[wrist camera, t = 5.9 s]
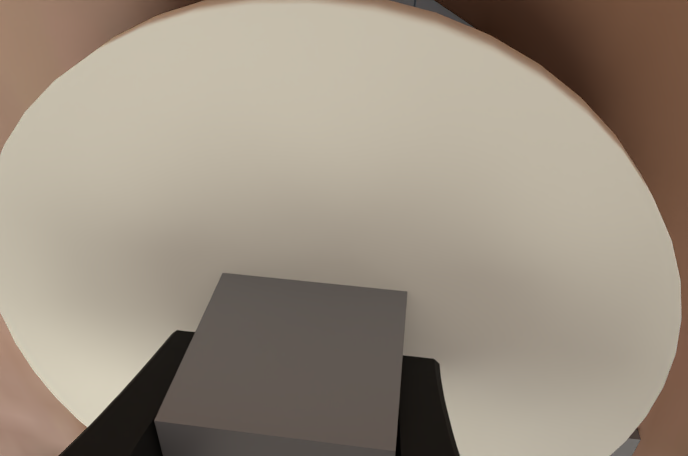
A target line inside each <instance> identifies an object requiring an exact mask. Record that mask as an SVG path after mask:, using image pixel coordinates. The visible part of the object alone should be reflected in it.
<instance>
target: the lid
mask: <svg viewBox="0 0 688 456" xmlns="http://www.w3.org/2000/svg"><path fill="white" fill-rule="evenodd" d="M0 312H1V315H2V317H3V319H4V321H5V323H6V325H7V327H8V329H9V331H10V333H11V335H12V337H13V339H14V341H15V343H16V345H17V346H18V348H19V349H20V351H21V352H22V354H23V355H24V357H25V358H26V360H27V361H28V363H29V364H30V366H31V368H32V369H33V371H34V372H35V373H36V374H37V375H38V377H39V378H40V379H41V380H42V381H43V383H44V384H45V385H46V386H47V388H48V389H49V390H50V391H51V392H52V394H53V395H54V396H55V397H56V398H57V399H58V400H59V401H60V402H61V403H62V404H63V405H64V406H65V407H66V408H67V409H68V410H69V411H70V412H71V413H72V414H73V415H74V416H75V417H76V418H77V419H78V420H79V421H80V422H82V423H83V424H84V425H85V426H86V427H88V426H89V425H90V424H91V423H92V422H93V421H94V420H95V419H96V418H97V417H98V416H99V415H100V414H101V413H102V412H103V411H104V410H105V408H106V407H107V406H108V405H109V404H110V403H111V402H112V401H113V400H114V399H115V398H116V397H117V396H118V395H119V394H120V393H121V391H122V390H123V389H124V388H125V387H126V386H127V385H128V384H129V383H130V381H131V380H132V379H133V378H134V377H135V376H136V375H137V374H138V372H139V371H140V370H141V369H142V368H143V367H144V366H145V365H146V363H147V362H148V361H149V360H150V359H151V358H152V356H153V355H154V354H155V353H156V352H157V351H158V349H159V348H160V347H161V346H162V345H163V344H164V342H165V341H166V340H167V339H168V338H169V336H170V335H171V334H172V333H173V332H175V331H176V330H181V331H190V332H195V334H194V336H193V338H192V340H191V342H190V344H189V347H188V349H187V351H186V353H185V355H184V357H183V359H182V362H181V364H180V366H179V368H178V370H177V372H176V375H175V377H174V379H173V381H172V383H171V385H170V388H169V390H168V392H167V394H166V396H165V398H164V401H163V403H162V405H161V407H160V409H159V411H158V413H157V416H156V418H155V420H154V422H155V426H156V430H157V434H158V438H159V442H160V446H161V450H162V454H163V456H395V452H396V439H397V425H398V412H399V399H400V385H401V372H402V359H403V355H405V356H414V357H423V358H432V359H435V360H436V361H437V362H438V363H439V364H440V374H441V381H442V387H443V393H444V398H445V402H446V407H447V411H448V415H449V419H450V423H451V427H452V431H453V434H454V438H455V441H456V445H457V448H458V451H459V454H460V456H610V455H611V454H612V453H613V452H615V451H616V450H617V449H618V448H619V447H620V446H621V445H622V444H623V443H624V442H625V441H626V440H627V439H628V438H629V437H630V435H631V434H632V433H633V432H634V431H635V429H636V428H637V427H638V426H639V425H640V423H641V422H642V421H643V420H644V418H645V417H646V416H647V414H648V413H649V411H650V409H651V407H652V406H653V404H654V402H655V401H656V399H657V397H658V395H659V394H660V392H661V390H662V389H663V387H664V384H665V382H666V379H667V376H668V373H669V371H670V368H671V365H672V363H673V360H674V357H675V354H676V349H677V343H678V337H679V331H680V325H681V319H682V318H681V280H680V276H679V271H678V267H677V262H676V258H675V253H674V249H673V244H672V240H671V238H670V235H669V233H668V231H667V228H666V226H665V224H664V221H663V219H662V217H661V214H660V212H659V210H658V207H657V205H656V203H655V200H654V198H653V196H652V194H651V192H650V191H649V189H648V187H647V185H646V183H645V181H644V179H643V177H642V175H641V173H640V172H639V170H638V169H637V167H636V166H635V164H634V163H633V161H632V159H631V158H630V156H629V155H628V153H627V152H626V150H625V149H624V147H623V146H622V144H621V143H620V141H619V140H618V138H617V137H616V135H615V134H614V133H613V132H612V131H611V130H610V128H609V127H608V126H607V125H606V124H605V123H604V122H603V121H602V120H601V119H600V118H599V116H598V115H597V114H596V113H595V112H594V111H593V110H592V109H591V108H590V107H589V106H588V104H587V103H586V102H585V101H584V100H583V99H582V98H581V97H580V96H579V95H577V94H576V93H575V92H574V91H572V90H571V89H570V88H569V87H567V86H566V85H565V84H564V83H562V82H561V81H560V80H559V79H557V78H556V77H555V76H554V75H552V74H551V73H550V72H549V71H547V70H546V69H545V68H544V67H542V66H541V65H540V64H539V63H537V62H535V61H533V60H532V59H530V58H528V57H527V56H525V55H523V54H522V53H520V52H518V51H516V50H515V49H513V48H511V47H510V46H508V45H506V44H505V43H503V42H501V41H499V40H498V39H496V38H494V37H493V36H491V35H489V34H486V33H484V32H482V31H479V30H477V29H474V28H472V27H470V26H467V25H465V24H462V23H460V22H457V21H455V20H453V19H450V18H448V17H445V16H443V15H441V14H438V13H436V12H432V11H428V10H424V9H421V8H417V7H413V6H409V5H405V4H402V3H398V2H394V1H390V0H204V1H201V2H197V3H194V4H191V5H188V6H185V7H182V8H178V9H175V10H172V11H169V12H166V13H163V14H159V15H157V16H155V17H153V18H151V19H149V20H147V21H145V22H143V23H141V24H139V25H137V26H135V27H133V28H131V29H129V30H127V31H125V32H123V33H121V34H119V35H117V36H115V37H113V38H112V39H110V40H109V41H108V42H106V43H105V44H104V45H102V46H101V47H99V48H98V49H97V50H95V51H94V52H93V53H91V54H90V55H89V56H87V57H86V58H84V59H83V60H82V61H80V62H79V63H78V64H76V65H75V66H74V67H72V68H71V69H70V70H68V71H67V72H65V73H64V74H63V75H61V76H60V77H59V78H57V79H56V80H55V81H54V82H53V83H52V84H51V85H50V86H49V87H48V88H47V89H46V90H45V91H44V92H43V93H42V94H41V95H40V97H39V98H38V99H37V100H36V101H35V102H34V103H33V104H32V105H31V106H30V107H29V108H28V109H27V110H26V111H25V113H24V114H23V116H22V118H21V119H20V121H19V122H18V124H17V126H16V127H15V129H14V130H13V132H12V133H11V135H10V137H9V138H8V140H7V141H6V143H5V144H4V147H3V149H2V152H1V155H0Z"/></svg>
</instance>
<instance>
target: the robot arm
mask: <svg viewBox="0 0 688 456" xmlns="http://www.w3.org/2000/svg"><path fill="white" fill-rule="evenodd" d="M194 334H195V332H190V331H181V330H176V331H175V332H173V333H172V334H171V335H170V336H169V338H168V339H167V340H166V341H165V342H164V344H163V345H162V346H161V347H160V348H159V349H158V351H157V352H156V353H155V354H154V355H153V356H152V358H151V359H150V360H149V361H148V362H147V363H146V365H145V366H144V367H143V368H142V369H141V370H140V371H139V372H138V374H137V375H136V376H135V377H134V378H133V379H132V380H131V381H130V383H129V384H128V385H127V386H126V387H125V388H124V389H123V390H122V391H121V393H120V394H119V395H118V396H117V397H116V398H115V399H114V400H113V401H112V402H111V403H110V404H109V405H108V406H107V407H106V408H105V410H104V411H103V412H102V413H101V414H100V415H99V416H98V417H97V418H96V419H95V420H94V421H93V422H92V423H91V424H90V425H89V426H88V427H87V428H86V429H85V430H84V431H83V432H82V433H81V434H80V435H79V436H78V437H77V438H76V439H75V440H74V441H73V442H72V443H71V444H70V445H69V446H68V447H67V448H66V449H65V450H64V451H63V452H62V453H61V454H60V455H59V456H163V454H162V450H161V446H160V442H159V438H158V434H157V430H156V426H155V422H154V420H155V418H156V416H157V413H158V411H159V409H160V407H161V405H162V403H163V401H164V398H165V396H166V394H167V392H168V390H169V388H170V385H171V383H172V381H173V379H174V377H175V375H176V372H177V370H178V368H179V366H180V364H181V362H182V359H183V357H184V355H185V353H186V351H187V349H188V347H189V344H190V342H191V340H192V338H193V336H194ZM395 456H460V454H459V451H458V448H457V445H456V441H455V438H454V434H453V431H452V427H451V423H450V419H449V415H448V411H447V407H446V402H445V398H444V393H443V387H442V381H441V374H440V364H439V363H438V362H437V361H436V360H435V359H432V358H423V357H414V356H405V355H403V359H402V372H401V385H400V399H399V412H398V425H397V439H396V452H395Z"/></svg>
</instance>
